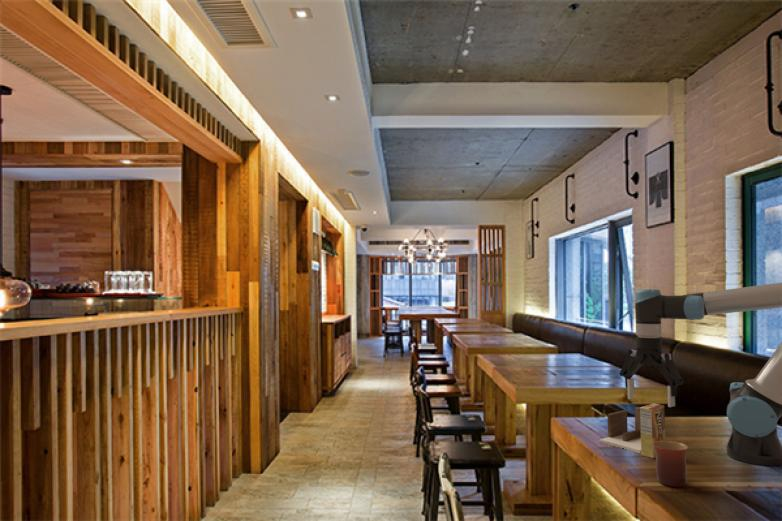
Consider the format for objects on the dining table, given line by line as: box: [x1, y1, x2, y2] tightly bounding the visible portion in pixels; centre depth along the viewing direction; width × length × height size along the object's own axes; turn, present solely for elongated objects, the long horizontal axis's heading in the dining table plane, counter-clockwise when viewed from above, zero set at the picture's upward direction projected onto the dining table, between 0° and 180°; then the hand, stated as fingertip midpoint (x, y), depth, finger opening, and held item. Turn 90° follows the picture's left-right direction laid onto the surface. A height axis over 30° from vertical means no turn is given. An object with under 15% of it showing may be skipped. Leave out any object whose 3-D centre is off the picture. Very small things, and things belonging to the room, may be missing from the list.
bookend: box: [623, 407, 641, 442], centre depth 178 cm, size 9×10×11 cm
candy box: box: [639, 402, 666, 459], centre depth 167 cm, size 9×4×15 cm, turn 129°
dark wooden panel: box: [607, 409, 629, 438], centre depth 185 cm, size 1×10×9 cm, turn 123°
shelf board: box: [599, 435, 641, 454], centre depth 178 cm, size 15×15×1 cm
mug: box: [652, 440, 689, 488], centre depth 144 cm, size 12×9×10 cm
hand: (650, 402), depth 168 cm, fingers open, 13 cm apart
